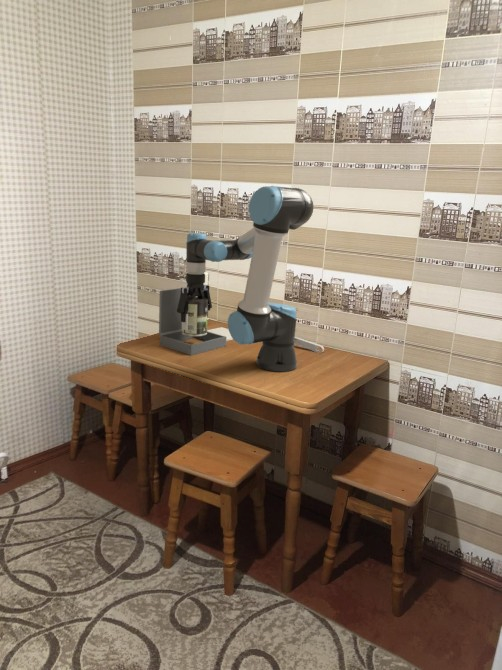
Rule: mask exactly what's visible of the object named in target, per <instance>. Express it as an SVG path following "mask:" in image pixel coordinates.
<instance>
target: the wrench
mask: <svg viewBox="0 0 502 670" xmlns="http://www.w3.org/2000/svg"><path fill="white" fill-rule="evenodd" d="M294 346H297V347H298V346H299V347H300V348H303V349H307V350H309V351H312V352H315V353H318V354H322V353H323V352H324V351H325V347H324V346H323V345H321V344H318V343H315V342H312V341H309V340H306V339H303V338H300V337H298V336H295V338H294ZM319 348H320V349H321V350H319Z"/></svg>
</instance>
